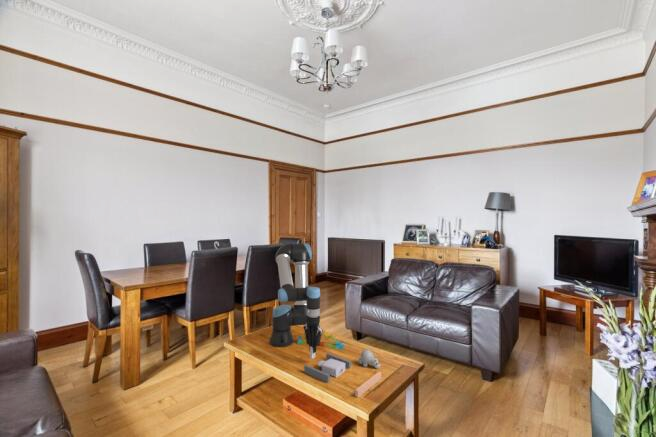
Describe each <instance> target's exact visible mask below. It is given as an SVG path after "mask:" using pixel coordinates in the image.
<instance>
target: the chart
mask: <svg viewBox="0 0 656 437" xmlns="http://www.w3.org/2000/svg"><path fill="white" fill-rule="evenodd" d="M323 335H324V336H325V337H326V338H327V339H330V338H331V337H332V340H333V342H335V343H332V342H323V341H320V344H319V346H318V347H321V348H322V347H323V348H328V349H329V348H330V349H338V350H339V349H340V350H344V348H345V344H344V342H345V340H343V341H338V340H337V339H336V338H335V336H334V334H330V335H328V333H327V332H326V331H323V332H322V334H321V336H323ZM304 336H305V331H304V332H303V334H302V336H301V335H298V336H297V337H296V338H297V339H298V340H297V342H296V343H297V344H299V345H304V346H305V345H306V346H309V344H307V343H306V339H303V337H304Z"/></svg>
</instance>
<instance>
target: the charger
mask: <svg viewBox="0 0 656 437" xmlns="http://www.w3.org/2000/svg"><path fill="white" fill-rule="evenodd" d="M316 364H317V366H318V367H321V371H322V372H325V373H327V374H329V375H330V377H335V378H338V377H339V376H340V375H342V374H343V373H344V372H345V371H346V367H345V363H344V362H340V361H337V360H334V359H328V360H319V361H318V362H316Z"/></svg>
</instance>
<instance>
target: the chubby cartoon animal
mask: <svg viewBox="0 0 656 437" xmlns="http://www.w3.org/2000/svg"><path fill="white" fill-rule="evenodd" d="M357 362H358V364H360V365H361V364H362V367H364V368H367V367H368V366H369V365H370V364H371V366H372V367H374V368H375V369H377V370H378V369H379V368H380V367H381V364H380V363H379V357H377V358H376V357H375V355H374V353H373V351H371V349H364V350H362V352H361V353H360V357H359V358H358V360H357Z"/></svg>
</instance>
